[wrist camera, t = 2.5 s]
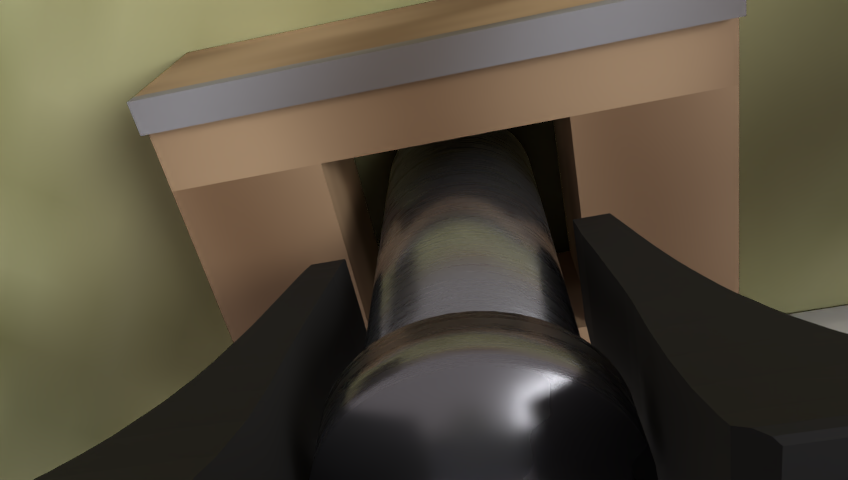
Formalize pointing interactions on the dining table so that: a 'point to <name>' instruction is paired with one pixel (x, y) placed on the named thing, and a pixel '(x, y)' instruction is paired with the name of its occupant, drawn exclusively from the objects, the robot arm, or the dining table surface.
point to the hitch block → (450, 129)
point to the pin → (475, 340)
